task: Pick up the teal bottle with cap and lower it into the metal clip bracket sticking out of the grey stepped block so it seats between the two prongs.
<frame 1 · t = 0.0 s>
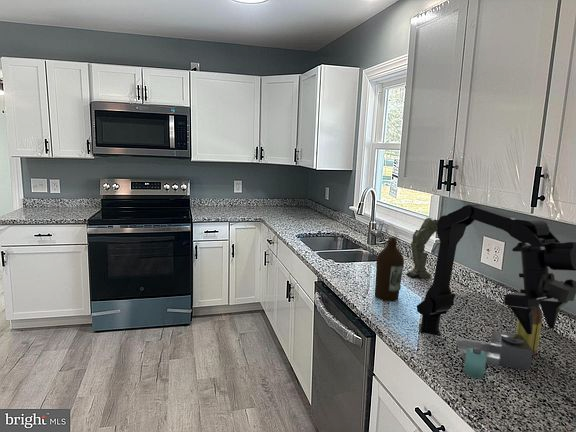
hand: (540, 331, 101), 15 cm above the worktop, tool pointing down, fingers open, 9 cm apart
teal bottle with cap: (473, 373, 109), on the worktop
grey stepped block: (508, 359, 117), on the worktop
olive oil: (386, 297, 163), on the worktop
mechanical leg: (419, 276, 195), on the worktop
sauce bottle: (524, 351, 123), on the worktop
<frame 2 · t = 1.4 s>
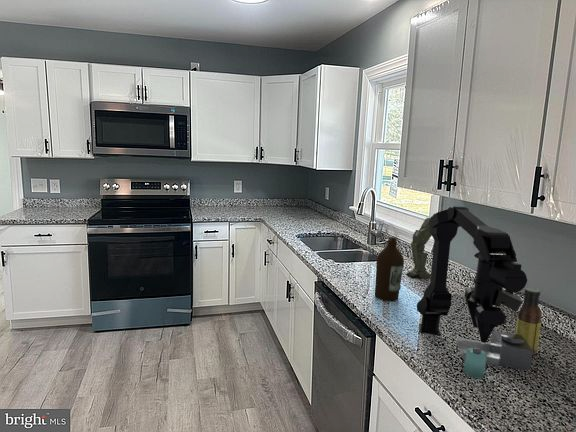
hand: (479, 334, 107), 11 cm above the worktop, tool pointing down, fingers open, 9 cm apart
nothing on the worktop moved.
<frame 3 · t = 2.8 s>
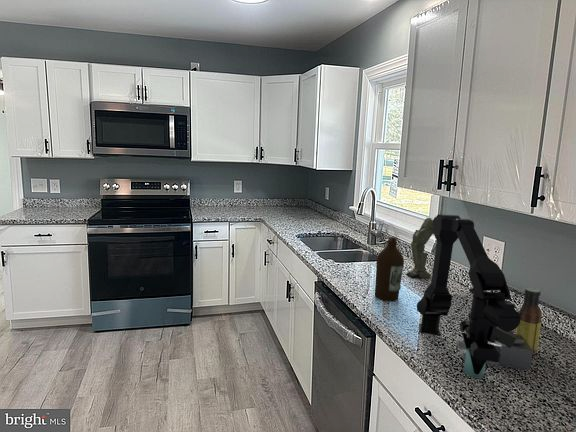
hand: (474, 368, 108), 1 cm above the worktop, tool pointing down, fingers closed on teal bottle with cap, 5 cm apart
teal bottle with cap: (473, 372, 109), on the worktop, touching gripper
everything else where it was.
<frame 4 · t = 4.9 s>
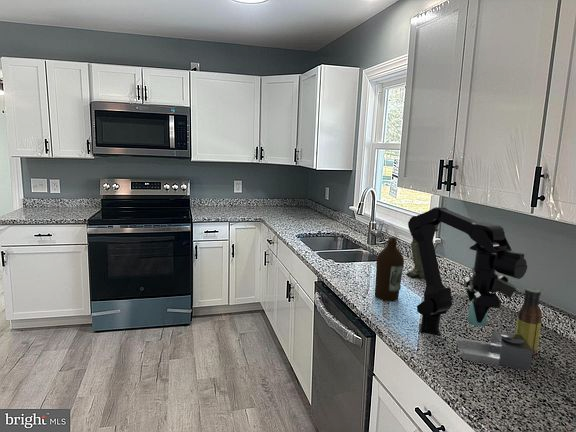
hand: (477, 318, 118), 11 cm above the worktop, tool pointing down, fingers closed on teal bottle with cap, 5 cm apart
teal bottle with cap: (476, 322, 118), point 10 cm above the worktop, touching gripper
everything else where it was.
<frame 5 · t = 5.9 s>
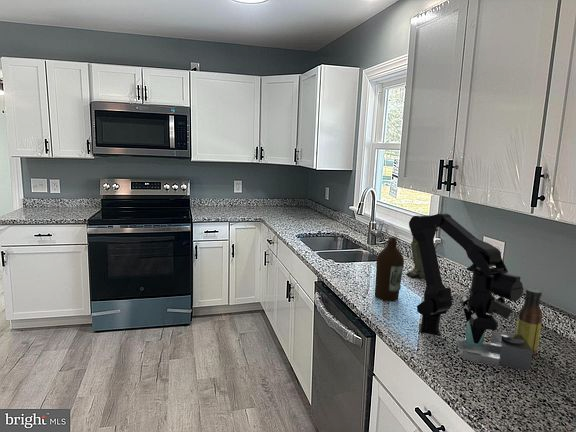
hand: (474, 339, 119), 5 cm above the worktop, tool pointing down, fingers closed on teal bottle with cap, 5 cm apart
teal bottle with cap: (473, 342, 119), point 3 cm above the worktop, touching gripper
everything else where it was.
when the fingers open (3 cm above the worktop, at t = 6.9 s): teal bottle with cap drops 2 cm, resting on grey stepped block.
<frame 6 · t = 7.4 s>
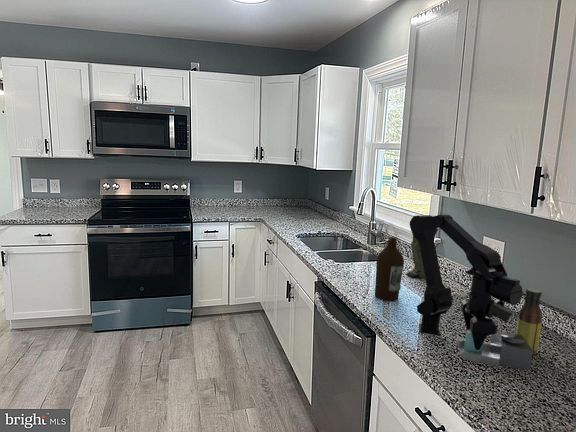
hand: (473, 342, 119), 3 cm above the worktop, tool pointing down, fingers open, 9 cm apart
teal bottle with cap: (472, 351, 120), resting on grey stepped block
everything else where it was.
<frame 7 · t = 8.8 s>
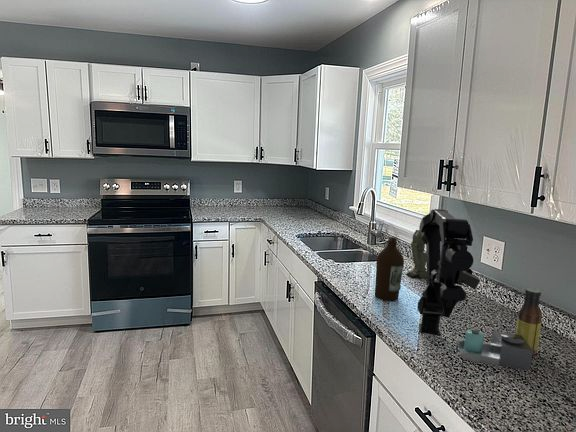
hand: (443, 310, 120), 12 cm above the worktop, tool pointing down, fingers open, 9 cm apart
nothing on the worktop moved.
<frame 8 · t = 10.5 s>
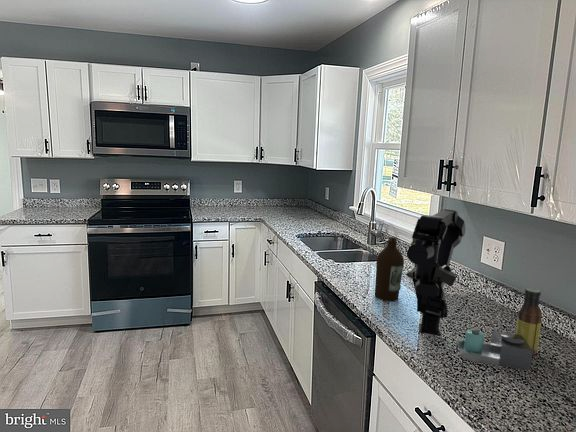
hand: (421, 307, 121), 12 cm above the worktop, tool pointing down, fingers open, 9 cm apart
nothing on the worktop moved.
at the end: teal bottle with cap 0.0 cm from the target spot on the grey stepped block, point 0.4 cm above the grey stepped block's base; teal bottle with cap tilted 1°; the gripper is holding nothing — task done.
